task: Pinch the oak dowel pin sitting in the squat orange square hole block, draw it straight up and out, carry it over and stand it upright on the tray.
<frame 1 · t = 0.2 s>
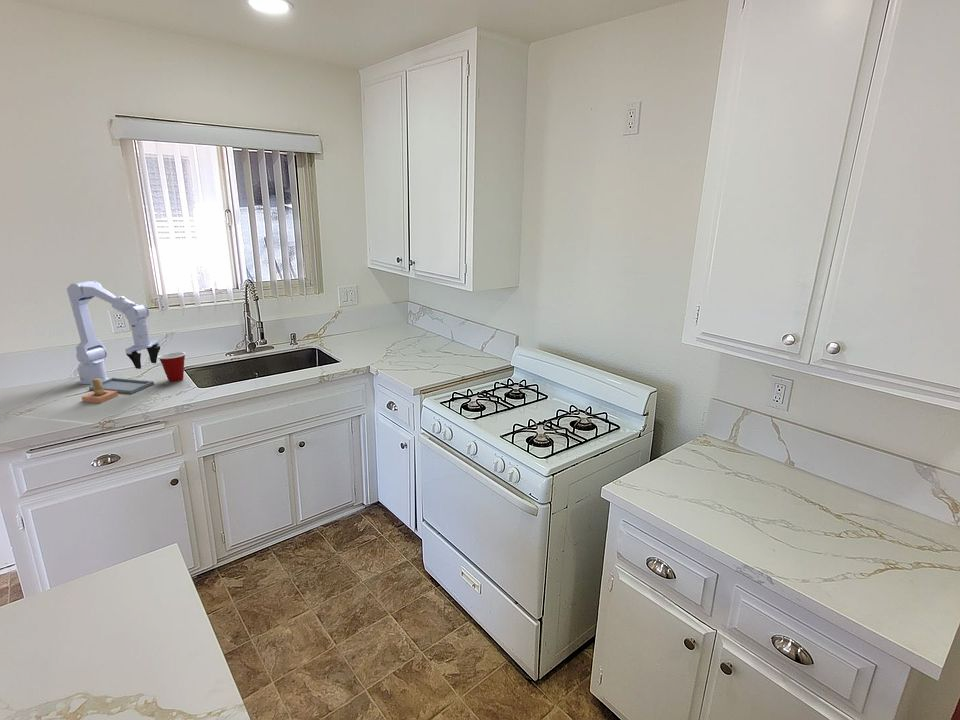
hand: (146, 365, 220), 10 cm above the worktop, tool pointing down, fingers open, 7 cm apart
orange square hole block: (100, 399, 209), on the worktop
plastic cup: (175, 380, 233), on the worktop
tray: (122, 388, 222), on the worktop
dowel pin: (100, 398, 209), resting on orange square hole block
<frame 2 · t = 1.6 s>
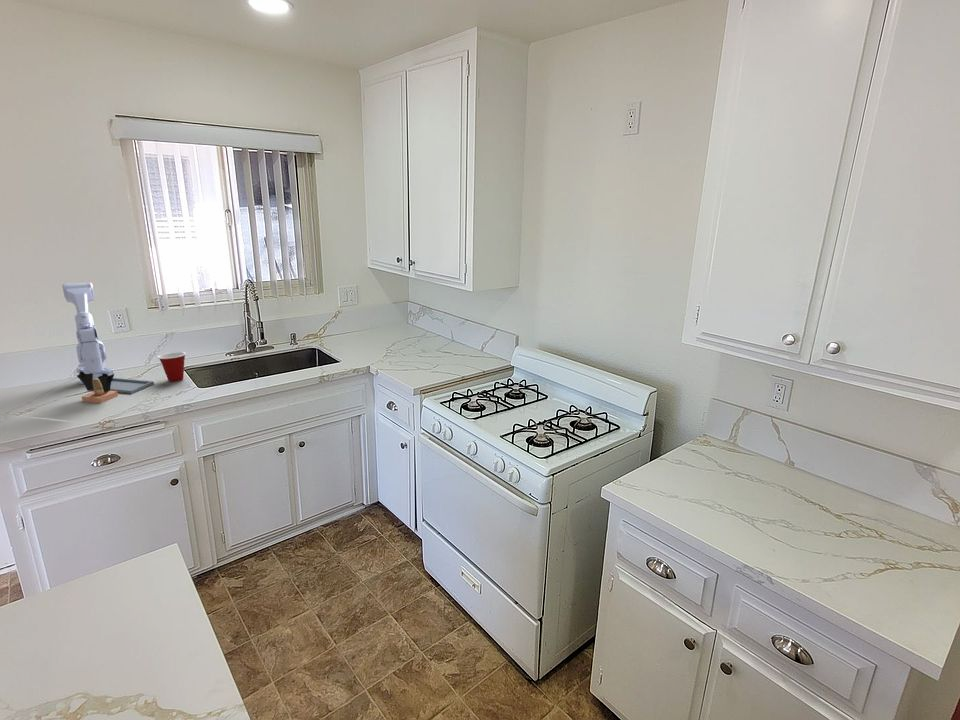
hand: (98, 390, 208), 4 cm above the worktop, tool pointing down, fingers open, 7 cm apart
nothing on the worktop moved.
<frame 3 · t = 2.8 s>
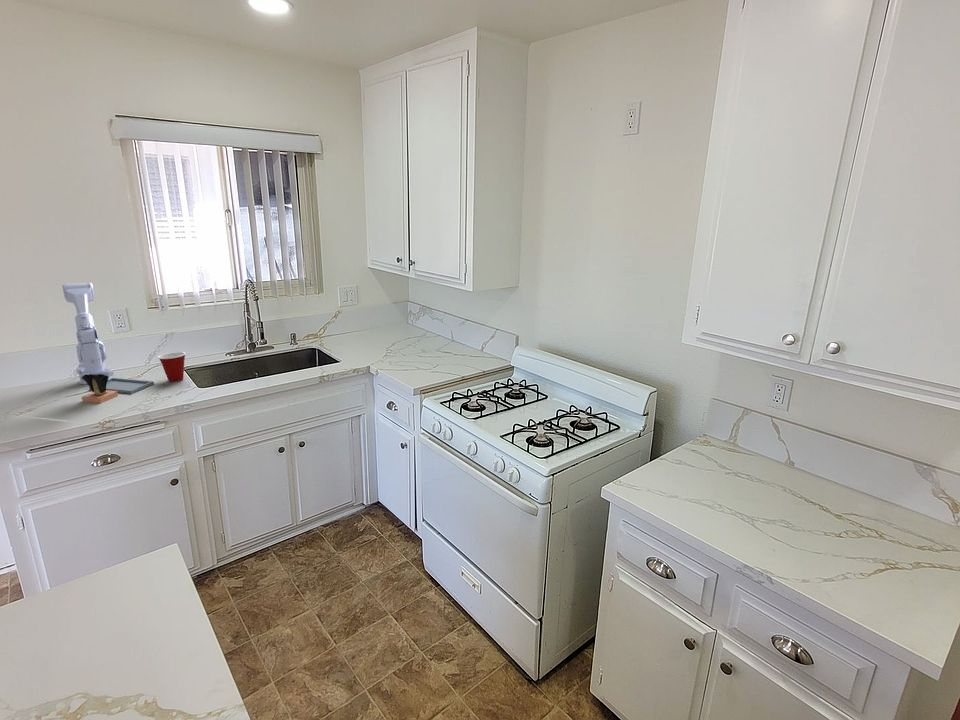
hand: (99, 391, 208), 3 cm above the worktop, tool pointing down, fingers closed on dowel pin, 3 cm apart
dowel pin: (100, 398, 209), resting on orange square hole block, touching gripper
everything else where it was.
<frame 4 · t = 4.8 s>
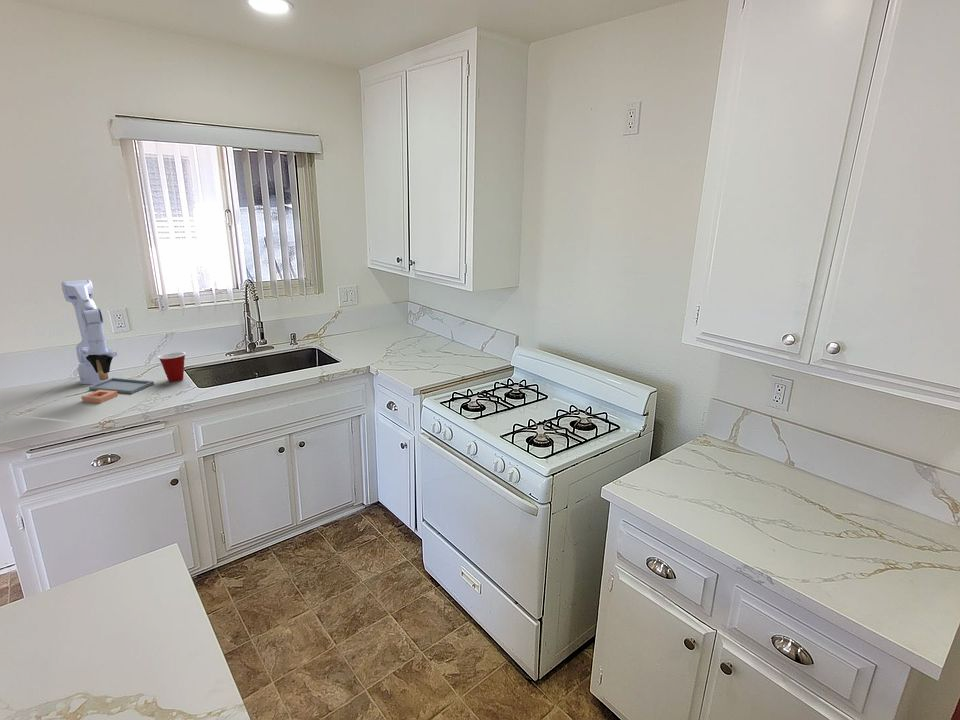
hand: (102, 372, 210), 10 cm above the worktop, tool pointing down, fingers closed on dowel pin, 3 cm apart
dowel pin: (104, 379, 211), point 7 cm above the worktop, touching gripper
everything else where it was.
when the fingers open (5 cm above the worktop, at t = 7.0 s): dowel pin drops 1 cm, resting on tray.
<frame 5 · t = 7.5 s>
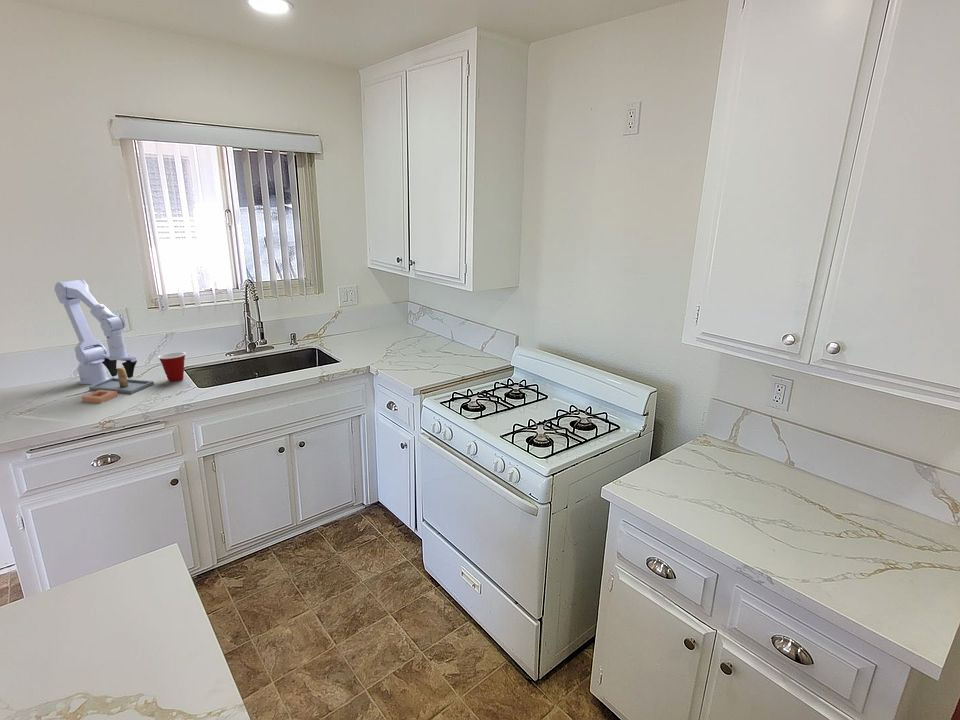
hand: (122, 376, 220), 5 cm above the worktop, tool pointing down, fingers open, 7 cm apart
dowel pin: (124, 386, 222), point 1 cm above the worktop, touching tray
everything else where it was.
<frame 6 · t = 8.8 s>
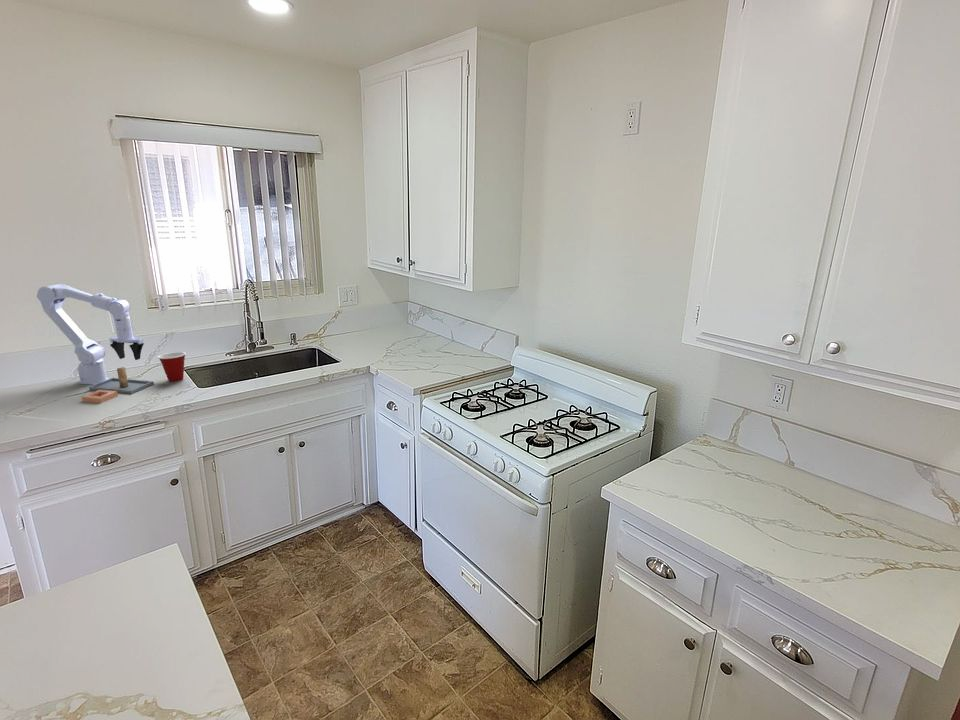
hand: (130, 358, 227), 10 cm above the worktop, tool pointing down, fingers open, 7 cm apart
nothing on the worktop moved.
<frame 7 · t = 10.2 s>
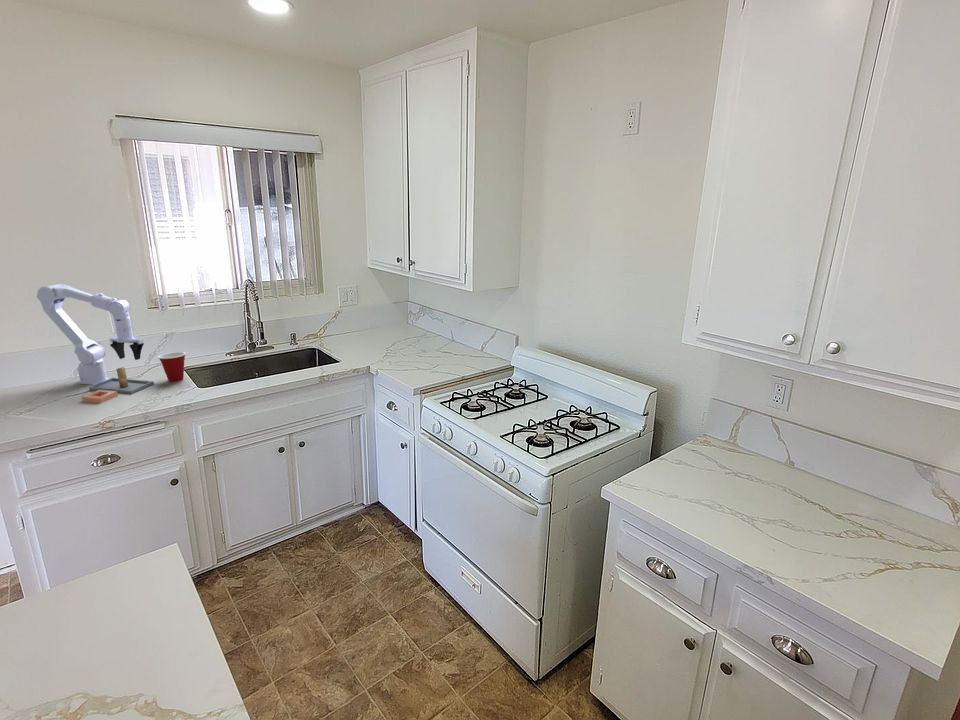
hand: (130, 358, 227), 10 cm above the worktop, tool pointing down, fingers open, 7 cm apart
nothing on the worktop moved.
at the end: dowel pin inside the target area on the tray (1.0 cm from its centre), point 0.8 cm above the tray's base; dowel pin tilted 1°; the gripper is holding nothing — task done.
